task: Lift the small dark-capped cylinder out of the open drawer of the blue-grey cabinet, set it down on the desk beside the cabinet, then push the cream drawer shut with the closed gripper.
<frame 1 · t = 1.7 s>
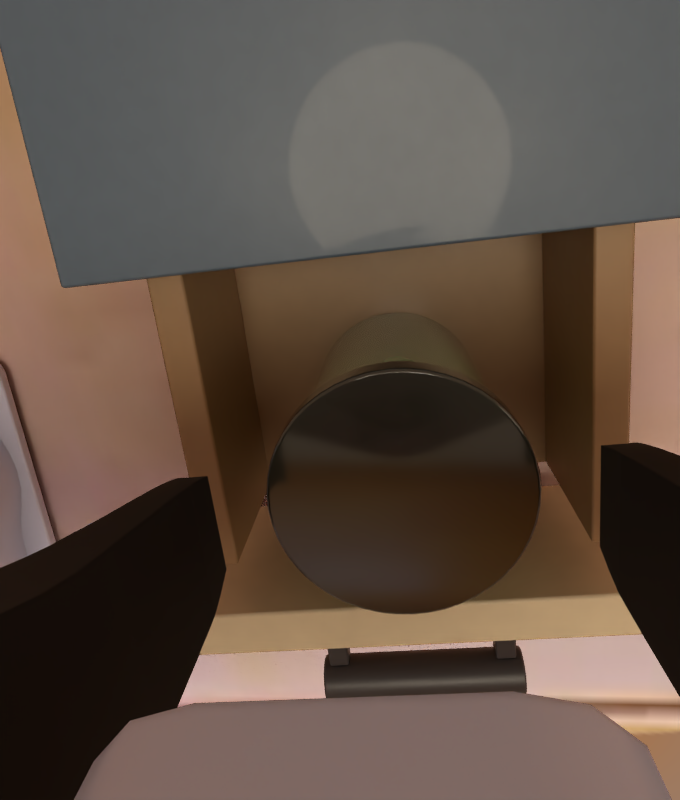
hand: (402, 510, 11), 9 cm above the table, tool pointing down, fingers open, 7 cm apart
dark-capped cylinder: (397, 389, 18), point 2 cm above the table, touching drawer
drawer: (399, 429, 17), point 4 cm above the table, slide at 8.5 cm, touching dark-capped cylinder
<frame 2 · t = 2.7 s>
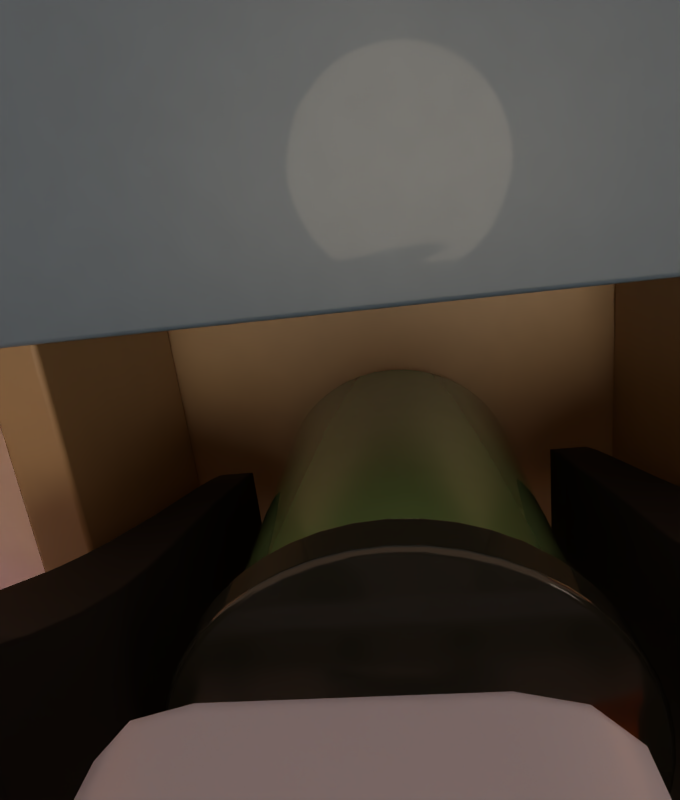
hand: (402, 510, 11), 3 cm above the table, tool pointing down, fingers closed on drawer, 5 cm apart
dark-capped cylinder: (399, 476, 13), point 2 cm above the table, touching drawer
drawer: (403, 546, 11), point 4 cm above the table, slide at 8.5 cm, touching dark-capped cylinder, gripper
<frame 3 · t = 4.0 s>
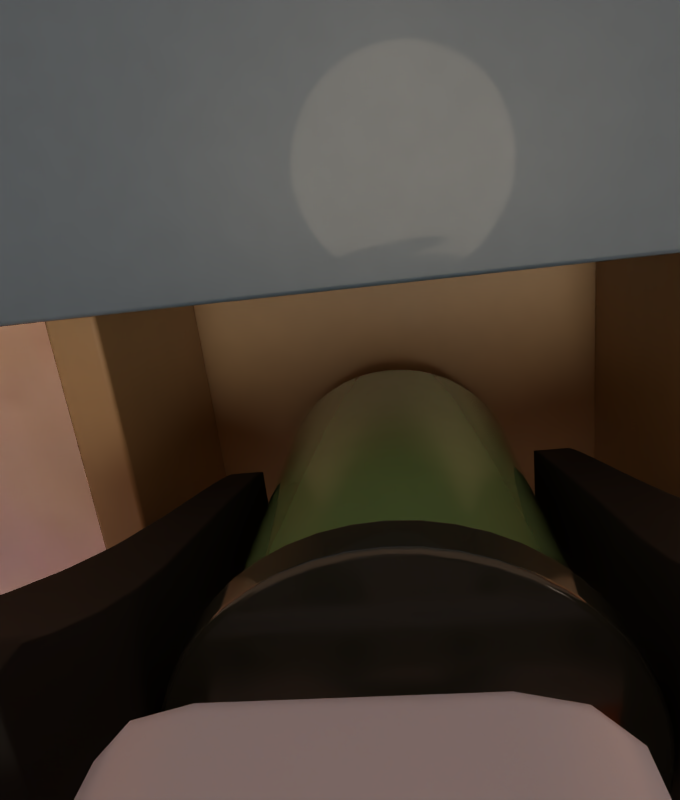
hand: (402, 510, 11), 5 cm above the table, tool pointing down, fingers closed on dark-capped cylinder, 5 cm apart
dark-capped cylinder: (398, 476, 13), point 4 cm above the table, touching gripper
drawer: (406, 506, 13), point 4 cm above the table, slide at 8.5 cm
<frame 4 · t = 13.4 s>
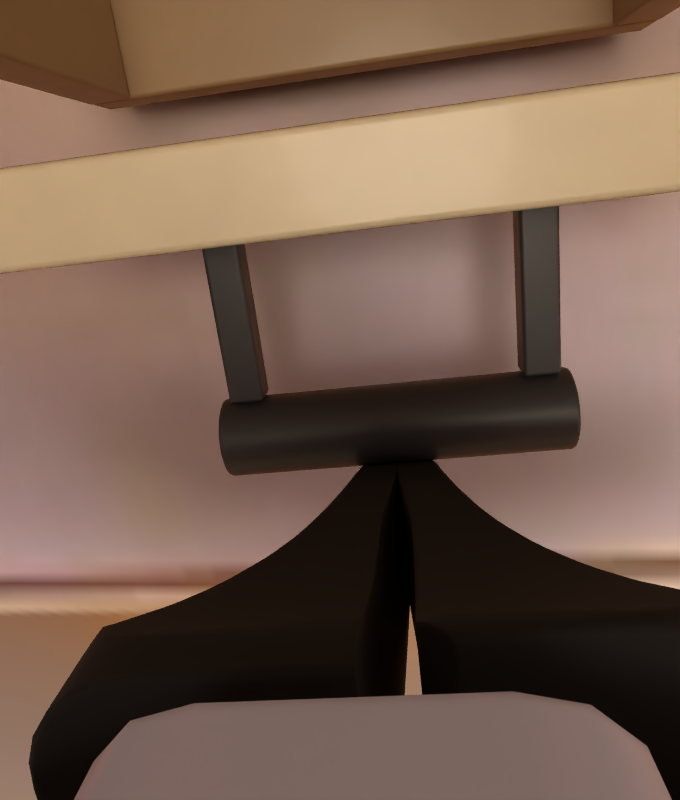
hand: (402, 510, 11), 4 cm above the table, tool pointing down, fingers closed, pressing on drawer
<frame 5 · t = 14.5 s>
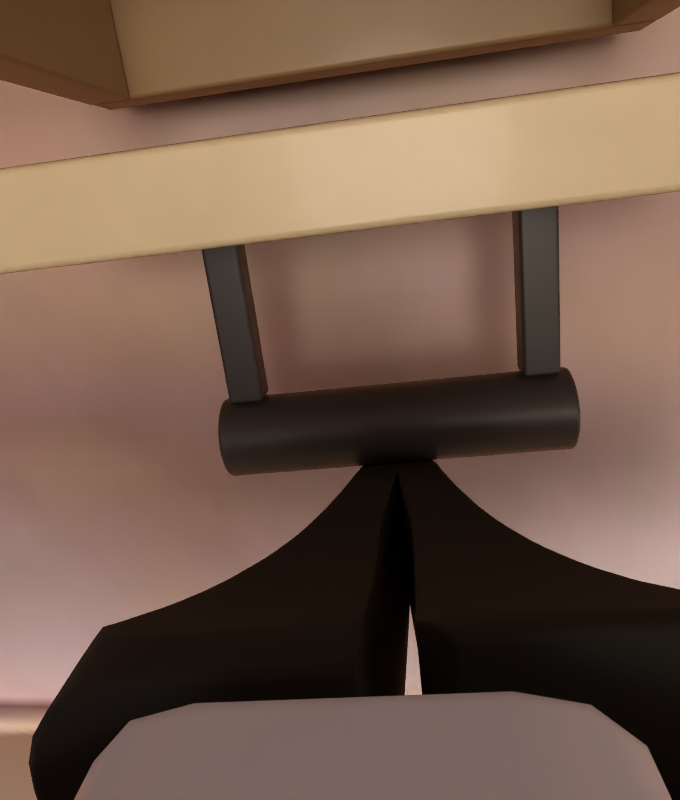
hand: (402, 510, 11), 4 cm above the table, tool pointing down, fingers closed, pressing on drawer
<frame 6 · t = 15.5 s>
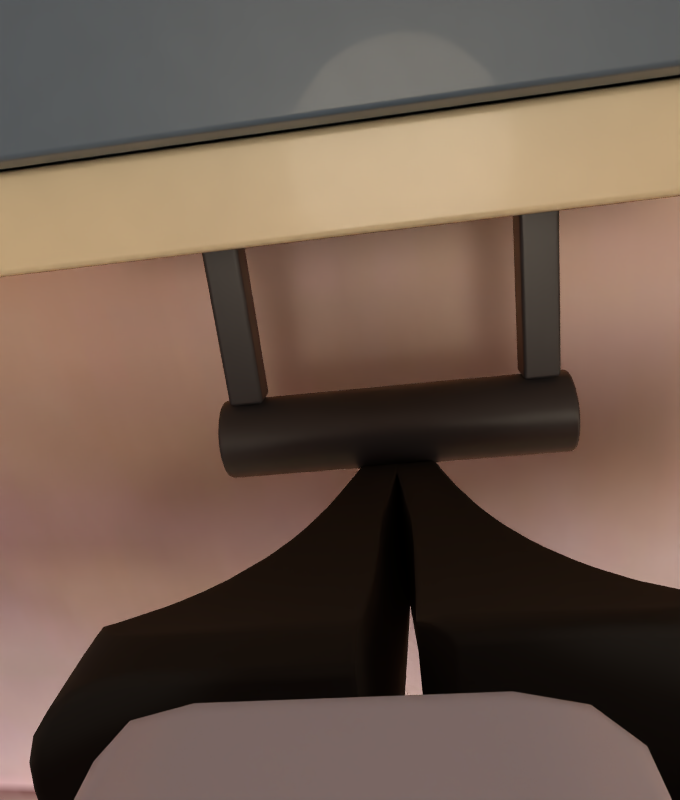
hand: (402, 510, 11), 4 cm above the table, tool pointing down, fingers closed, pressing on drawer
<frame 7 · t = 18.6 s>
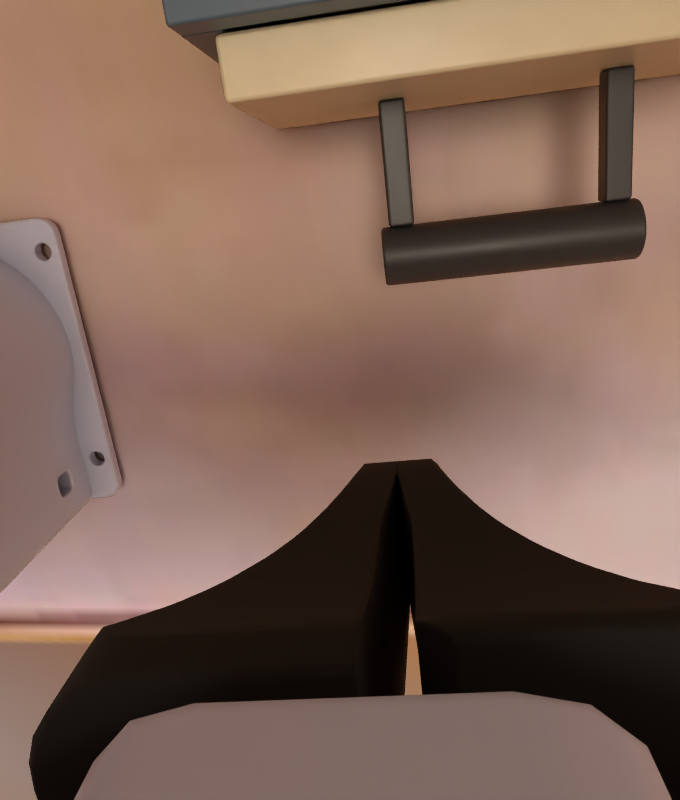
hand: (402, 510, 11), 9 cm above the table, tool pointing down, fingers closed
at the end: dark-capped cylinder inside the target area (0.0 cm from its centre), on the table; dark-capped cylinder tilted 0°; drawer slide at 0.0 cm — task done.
